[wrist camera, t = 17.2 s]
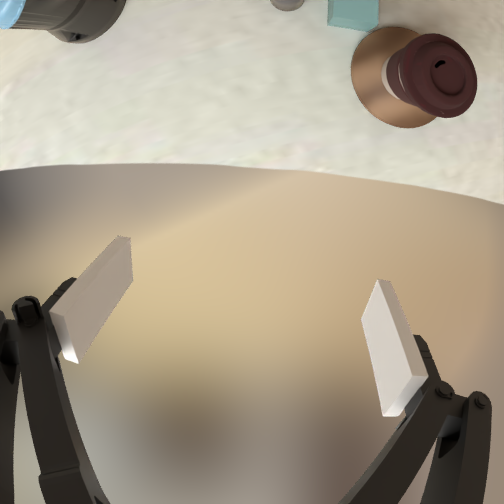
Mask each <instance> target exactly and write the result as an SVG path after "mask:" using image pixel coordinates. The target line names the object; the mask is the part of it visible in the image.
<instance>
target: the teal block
mask: <svg viewBox="0 0 504 504" xmlns="http://www.w3.org/2000/svg"><path fill="white" fill-rule="evenodd" d="M378 6H379V0H328V23H327V25H329V26H336V27H342V28H348V29H354V30H360V31H365V32H368V31H370V30H371V29H373V28H374V27H376V26H377V25H378Z"/></svg>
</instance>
